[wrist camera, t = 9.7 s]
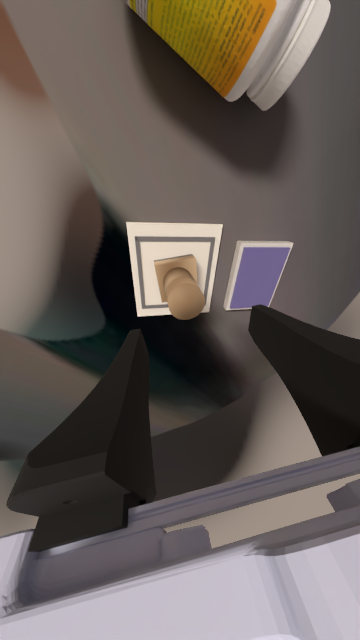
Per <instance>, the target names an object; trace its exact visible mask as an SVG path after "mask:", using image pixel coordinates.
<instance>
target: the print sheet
mask: <svg viewBox="0 0 360 640" xmlns="http://www.w3.org/2000/svg"><path fill="white" fill-rule="evenodd" d="M126 224H127V233H128V241H129V249H130V257H131V266H132V274H133V282H134V290H135V298H136V307H137V315H138V316H154V315H170V314H171V312H170V310H169V307H168V302H162V300H161V295H160V290H159V286H158V281H157V276H156V271H155V266H154V260H159V259H165V258H171V257H177V256H183V255H189V254H193V256H194V257H195V258H196V265H197V282H198V286H199V288H200V290H201V291H202V293H203V295H204V297H205V306H204V308H203V310H202V311H201V313H202V312H209V308H210V302H211V296H212V289H213V283H214V277H215V271H216V264H217V258H218V252H219V245H220V239H221V233H222V227H223V225H222V224H189V223H145V222H126Z"/></svg>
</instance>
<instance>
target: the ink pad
mask: <svg viewBox="0 0 360 640" xmlns="http://www.w3.org/2000/svg"><path fill="white" fill-rule="evenodd" d="M292 246H293V243H292V242H289V241H237V244H236V249H235V254H234V259H233V263H232V268H231V273H230V278H229V282H228V287H227V292H226V296H225V301H224V306H223V307H224V308H225V310H240V309H252V306H255V305H260V304H262V305H265V306H267V307H269V305H270V303H271V300H272V298H273V295H274V293H275V290H276V287H277V285H278V282H279V280H280V277H281V274H282V272H283V269H284V267H285V264H286V262H287V259H288V256H289V254H290V251H291V249H292Z"/></svg>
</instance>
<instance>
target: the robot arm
mask: <svg viewBox="0 0 360 640" xmlns="http://www.w3.org/2000/svg"><path fill="white" fill-rule="evenodd" d="M248 331H249V333H250V335H251V336H252V338H253V340H254V342H255V343H256V345H257V346H258V348H259V349H260V350H261V352H262V353H263V354H264V356H265V357H266V358H267V360H268V361H269V362H270V363H271V365H272V366H273V367H274V369H275V370H276V371H277V373H278V374H279V376H280V377H281V379H282V381H283V382H284V384H285V385H286V387H287V389H288V390H289V392H290V394H291V396H292V397H293V399H294V401H295V403H296V405H297V406H298V408H299V410H300V412H301V414H302V416H303V417H304V420H305V421H306V423H307V425H308V427H309V429H310V432H311V434H312V435H313V438H314V440H315V442H316V444H317V446H318V448H319V451H320V453H321V455H322V457H319V458H315V459H311V460H308V461H304V462H300V463H296V464H293V465H289V466H285V467H282V468H278V469H274V470H271V471H267V472H263V473H259V474H256V475H252V476H248V477H244V478H241V479H237V480H233V481H230V482H226V483H222V484H219V485H215V486H211V487H207V488H204V489H200V490H197V491H192V492H189V493H185V494H181V495H178V496H174V497H170V498H166V499H163V500H159V501H155V502H153V500H154V498H155V496H156V487H155V479H154V478H155V477H154V468H153V457H152V447H151V435H150V422H149V403H148V398H149V356H148V350H147V347H146V344H145V341H144V338H143V335H142V332H141V329H136V330H131V331H130V332H129V334H128V336H127V338H126V340H125V342H124V344H123V345H122V347H121V349H120V351H119V353H118V354H117V356H116V358H115V359H114V361H113V363H112V364H111V366H110V367H109V369H108V370H107V372H106V373H105V375H104V376H103V377H102V379H101V380H100V381H99V383H98V384H97V385H96V387H95V388H94V389H93V390H92V391H91V393H90V394H89V395H88V396H87V397H86V398H85V399H84V401H83V402H82V403H81V404H80V405H79V406H78V407H77V408H76V409H75V410H74V411H73V412H72V413H71V414H70V415H69V416H68V417H67V418H66V419H65V420H64V421H63V422H62V423H61V424H60V425H59V426H58V427H57V428H56V429H55V430H54V431H53V432H52V433H51V434H50V435H48V436H47V437H46V438H45V439H44V440H43V441H42V442H41V443H40V444H39V445H37V446H36V447H35V448H34V449H33V450H32V451H31V452H29V454H28V456H27V458H26V460H25V462H24V464H23V466H22V468H21V471H20V473H19V475H18V478H17V480H16V482H15V485H14V487H13V489H12V491H11V493H10V496H9V498H8V500H7V507H8V508H9V509H10V510H12V511H15V512H19V513H24V514H29V515H34V516H38V517H39V519H38V522H37V525H36V528H35V529H28V530H23V531H19V532H15V533H11V534H8V535H4V536H0V640H360V479H358V480H355V481H352V482H350V483H347V484H346V485H345V486H343V487H342V488H340V489H338V490H336V491H333V492H331V493H329V494H327V498H328V500H329V502H330V503H331V505H332V507H333V508H334V510H335V512H334V513H330V514H327V515H324V516H320V517H317V518H313V519H310V520H306V521H303V522H300V523H297V524H293V525H290V526H286V527H283V528H280V529H277V530H273V531H270V532H266V533H263V534H260V535H256V536H253V537H250V538H246V539H243V540H240V541H237V542H233V543H230V544H226V545H223V546H220V547H216V548H213V549H212V548H211V544H210V539H209V533H208V531H207V530H206V529H205V527H204V526H203V525H199V526H194V527H190V528H184V529H180V530H175V531H171V532H168V533H167V532H166V531H165V530H163V529H164V528H167V527H171V526H174V525H178V524H182V523H185V522H189V521H192V520H196V519H199V518H203V517H207V516H210V515H214V514H217V513H221V512H224V511H228V510H231V509H235V508H239V507H242V506H245V505H249V504H253V503H256V502H260V501H264V500H267V499H271V498H274V497H278V496H281V495H285V494H288V493H292V492H296V491H299V490H303V489H306V488H310V487H313V486H317V485H320V484H324V483H328V482H331V481H335V480H338V479H342V478H345V477H349V476H353V475H356V474H360V340H359V339H355V338H351V337H347V336H343V335H340V334H337V333H334V332H330V331H327V330H324V329H321V328H318V327H315V326H313V325H310V324H307V323H305V322H302V321H300V320H297V319H295V318H293V317H290V316H288V315H286V314H283V313H281V312H279V311H276V310H274V309H272V308H270V307H267V306H265V305H262V304H260V305H255V306H252V309H251V316H250V323H249V329H248Z"/></svg>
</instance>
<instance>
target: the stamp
mask: <svg viewBox="0 0 360 640" xmlns="http://www.w3.org/2000/svg"><path fill="white" fill-rule="evenodd" d="M154 266H155V271H156V276H157V281H158V286H159V290H160V295H161V300H162V302H168V307H169V310H170V312H171V314H172V315H173V316H174V317H176V318H178V319H183V320H187V319H191V318H194V317H196V316H197V315H199V314H200V313H201V311H202V310H203V308H204V306H205V297H204V295H203V293H202V291H201V290H200V288H199V286H198V282H197V265H196V258H195V257H194V256H193V254H189V255H183V256H177V257H171V258H165V259H159V260H154Z"/></svg>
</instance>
